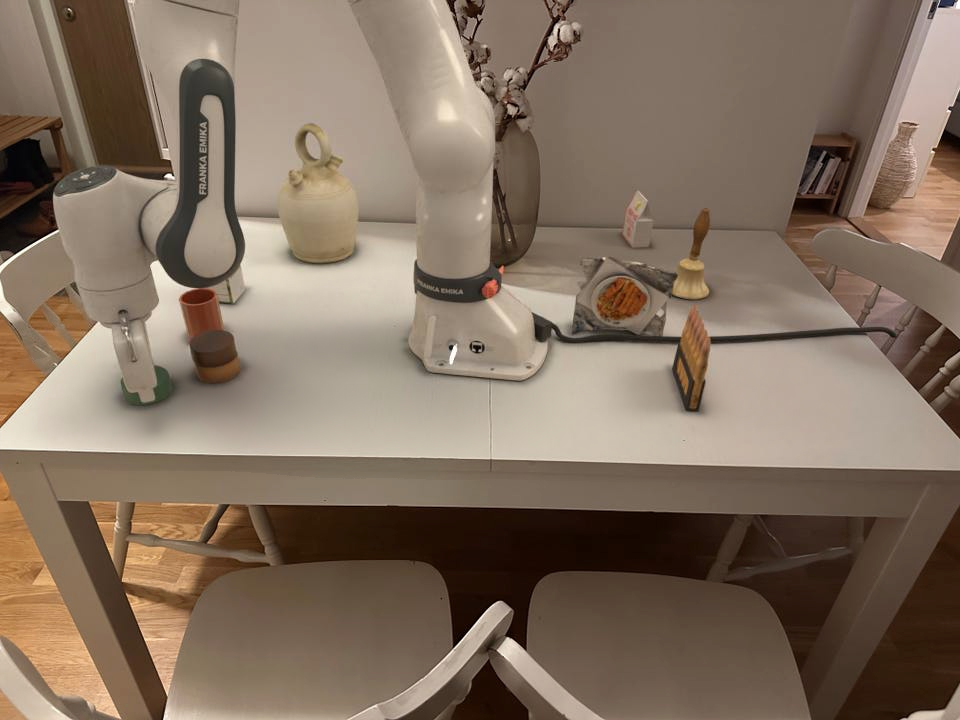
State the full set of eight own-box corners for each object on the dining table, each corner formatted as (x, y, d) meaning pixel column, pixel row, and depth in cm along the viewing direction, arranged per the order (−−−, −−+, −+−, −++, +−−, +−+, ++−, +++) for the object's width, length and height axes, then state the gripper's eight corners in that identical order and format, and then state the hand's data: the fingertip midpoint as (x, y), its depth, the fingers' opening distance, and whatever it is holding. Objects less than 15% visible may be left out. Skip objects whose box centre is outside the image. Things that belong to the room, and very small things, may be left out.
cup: (231, 329, 113) (224, 291, 109) (210, 346, 108) (201, 307, 105) (203, 323, 114) (194, 285, 110) (181, 339, 110) (171, 301, 106)
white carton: (638, 234, 151) (645, 190, 145) (648, 247, 145) (657, 201, 140) (622, 234, 150) (629, 190, 145) (632, 247, 145) (639, 202, 139)
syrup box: (246, 289, 124) (233, 213, 116) (233, 305, 119) (218, 227, 111) (216, 286, 125) (200, 211, 117) (201, 302, 120) (184, 224, 112)
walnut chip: (245, 348, 104) (242, 334, 102) (220, 371, 99) (216, 355, 97) (210, 341, 105) (206, 326, 104) (183, 362, 100) (179, 347, 99)
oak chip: (248, 364, 105) (246, 349, 103) (224, 386, 100) (221, 371, 98) (213, 356, 106) (210, 341, 105) (188, 378, 101) (184, 363, 100)
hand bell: (692, 277, 134) (711, 198, 125) (717, 296, 128) (738, 215, 119) (655, 282, 132) (671, 202, 123) (679, 302, 125) (697, 220, 116)
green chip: (181, 384, 100) (177, 370, 98) (152, 409, 95) (147, 394, 93) (145, 376, 101) (141, 361, 100) (115, 400, 96) (110, 385, 95)
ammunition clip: (671, 368, 107) (687, 301, 101) (683, 369, 107) (699, 301, 101) (685, 410, 99) (703, 340, 92) (698, 411, 99) (717, 340, 92)
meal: (571, 335, 115) (580, 264, 107) (572, 323, 118) (581, 253, 111) (662, 346, 113) (678, 274, 105) (661, 332, 116) (676, 262, 109)
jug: (334, 229, 148) (323, 109, 134) (376, 253, 138) (369, 127, 124) (269, 247, 139) (250, 121, 125) (310, 275, 130) (294, 141, 116)
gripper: (154, 328, 83) (178, 417, 91) (139, 259, 98) (161, 341, 106) (96, 339, 81) (126, 430, 88) (89, 267, 96) (116, 350, 103)
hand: (145, 381), depth 97 cm, fingers open, 8 cm apart
